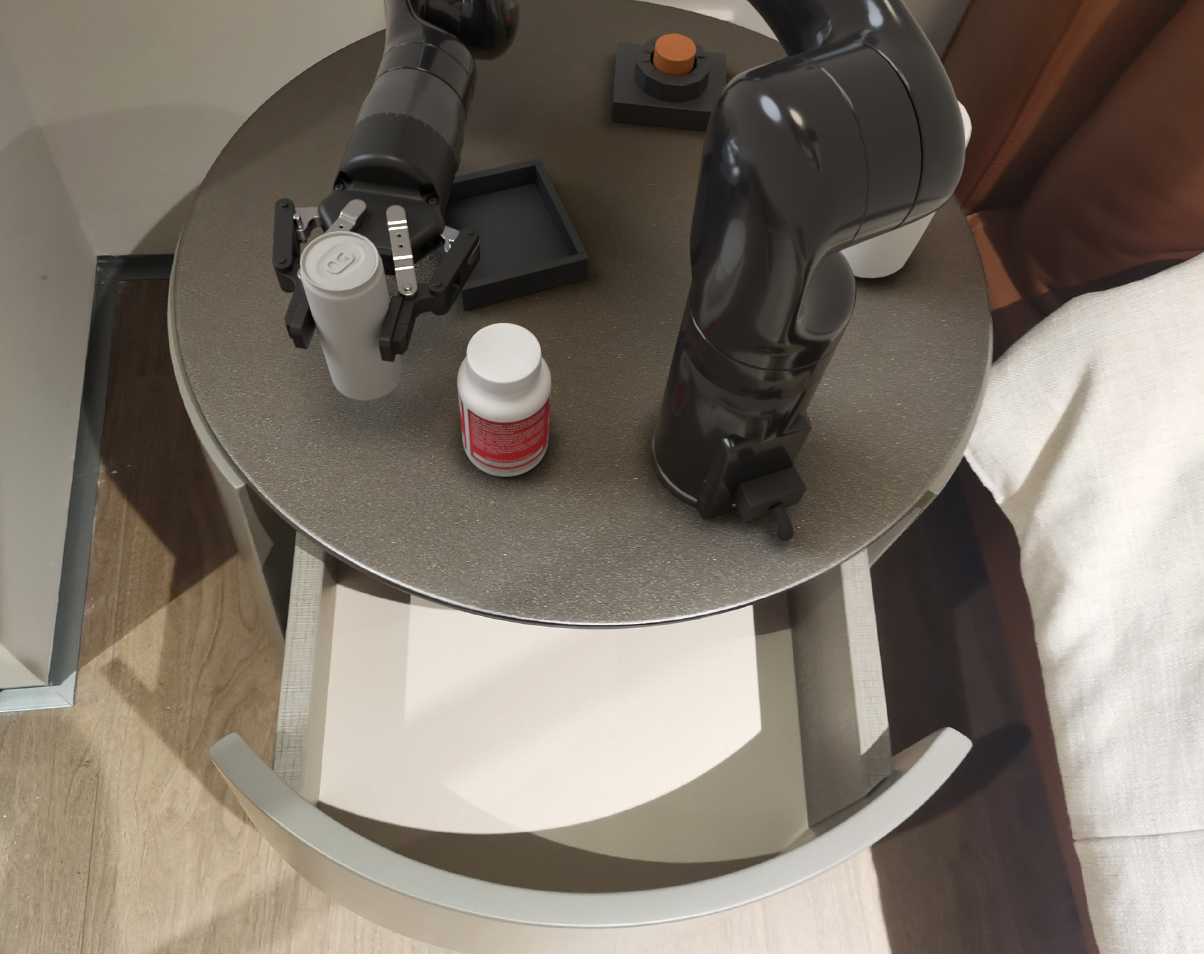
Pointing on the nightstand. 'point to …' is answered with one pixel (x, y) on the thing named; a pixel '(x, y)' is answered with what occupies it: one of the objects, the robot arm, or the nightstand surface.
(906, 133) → the robot arm
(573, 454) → the nightstand surface
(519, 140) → the nightstand surface
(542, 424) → the pill bottle
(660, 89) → the control block
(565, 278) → the tray
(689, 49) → the button
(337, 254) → the beverage can
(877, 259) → the cup
